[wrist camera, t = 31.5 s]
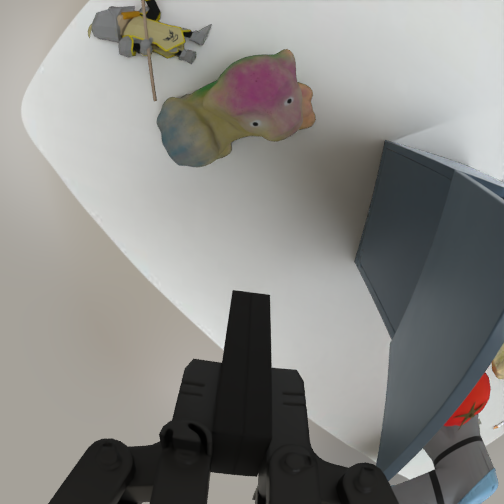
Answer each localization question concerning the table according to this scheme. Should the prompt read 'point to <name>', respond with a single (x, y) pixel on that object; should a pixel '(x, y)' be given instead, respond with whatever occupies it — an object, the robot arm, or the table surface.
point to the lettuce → (499, 364)
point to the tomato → (471, 403)
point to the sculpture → (236, 109)
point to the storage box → (406, 224)
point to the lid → (446, 324)
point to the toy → (145, 33)
